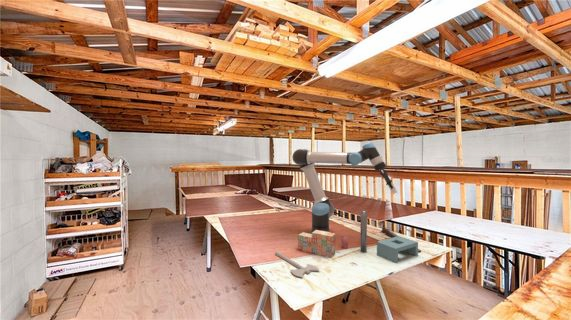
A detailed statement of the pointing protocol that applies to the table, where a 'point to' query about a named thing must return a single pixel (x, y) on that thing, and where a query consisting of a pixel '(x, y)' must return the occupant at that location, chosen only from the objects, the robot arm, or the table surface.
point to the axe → (298, 266)
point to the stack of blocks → (317, 243)
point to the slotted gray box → (391, 234)
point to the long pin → (363, 232)
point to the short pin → (344, 242)
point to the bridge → (396, 247)
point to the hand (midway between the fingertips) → (395, 192)
